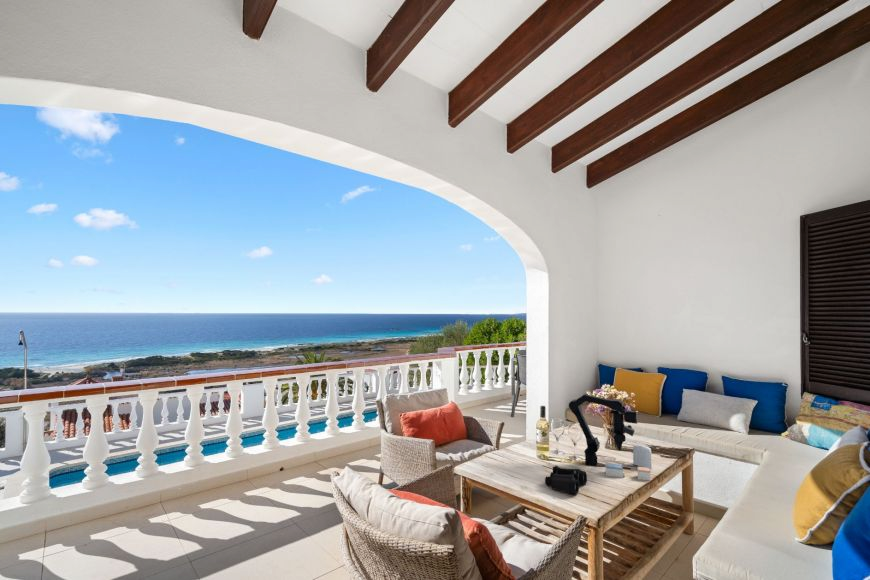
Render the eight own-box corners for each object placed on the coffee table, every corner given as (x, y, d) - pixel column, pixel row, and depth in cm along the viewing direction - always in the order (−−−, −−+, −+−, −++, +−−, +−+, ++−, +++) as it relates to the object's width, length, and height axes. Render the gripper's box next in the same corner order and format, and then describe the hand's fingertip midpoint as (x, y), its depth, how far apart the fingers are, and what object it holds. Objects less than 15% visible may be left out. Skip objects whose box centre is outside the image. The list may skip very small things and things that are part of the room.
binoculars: (575, 498, 204) (574, 477, 205) (540, 488, 216) (539, 469, 216) (590, 483, 221) (589, 465, 221) (557, 475, 233) (556, 457, 233)
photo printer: (653, 467, 242) (652, 446, 243) (650, 469, 239) (649, 448, 240) (635, 463, 250) (634, 442, 250) (632, 464, 247) (631, 444, 247)
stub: (638, 479, 226) (638, 469, 226) (637, 475, 231) (637, 466, 231) (650, 480, 224) (650, 470, 224) (649, 477, 228) (649, 467, 229)
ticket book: (605, 475, 231) (605, 466, 232) (605, 471, 237) (605, 462, 237) (624, 477, 228) (624, 468, 228) (624, 473, 234) (623, 464, 234)
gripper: (634, 426, 231) (635, 454, 230) (631, 418, 248) (632, 444, 247) (613, 425, 235) (614, 452, 234) (611, 417, 252) (612, 442, 251)
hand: (619, 448), depth 241 cm, fingers open, 9 cm apart
